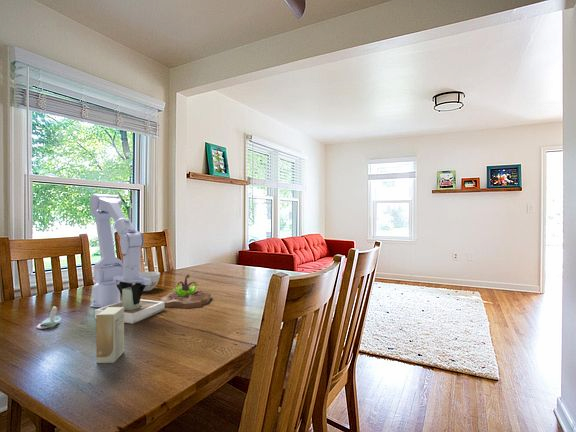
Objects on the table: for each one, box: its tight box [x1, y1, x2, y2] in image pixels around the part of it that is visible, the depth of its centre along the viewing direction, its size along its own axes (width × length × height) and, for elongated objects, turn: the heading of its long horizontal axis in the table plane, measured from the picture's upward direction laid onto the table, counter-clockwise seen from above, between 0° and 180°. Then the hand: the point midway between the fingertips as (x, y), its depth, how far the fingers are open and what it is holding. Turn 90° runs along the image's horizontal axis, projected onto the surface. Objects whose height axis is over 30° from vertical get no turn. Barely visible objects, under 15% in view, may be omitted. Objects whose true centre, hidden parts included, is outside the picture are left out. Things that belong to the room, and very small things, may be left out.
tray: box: [94, 298, 165, 324], centre depth 116 cm, size 16×16×3 cm
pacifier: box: [36, 306, 62, 330], centre depth 103 cm, size 7×6×6 cm
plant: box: [158, 274, 212, 309], centre depth 134 cm, size 20×20×11 cm
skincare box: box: [95, 307, 125, 364], centre depth 81 cm, size 6×4×12 cm
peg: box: [121, 287, 140, 310], centre depth 116 cm, size 4×4×8 cm
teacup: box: [133, 271, 161, 292], centre depth 153 cm, size 15×12×8 cm
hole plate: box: [113, 302, 156, 313], centre depth 116 cm, size 14×14×2 cm
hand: (131, 303), depth 116 cm, fingers closed on peg, 4 cm apart
